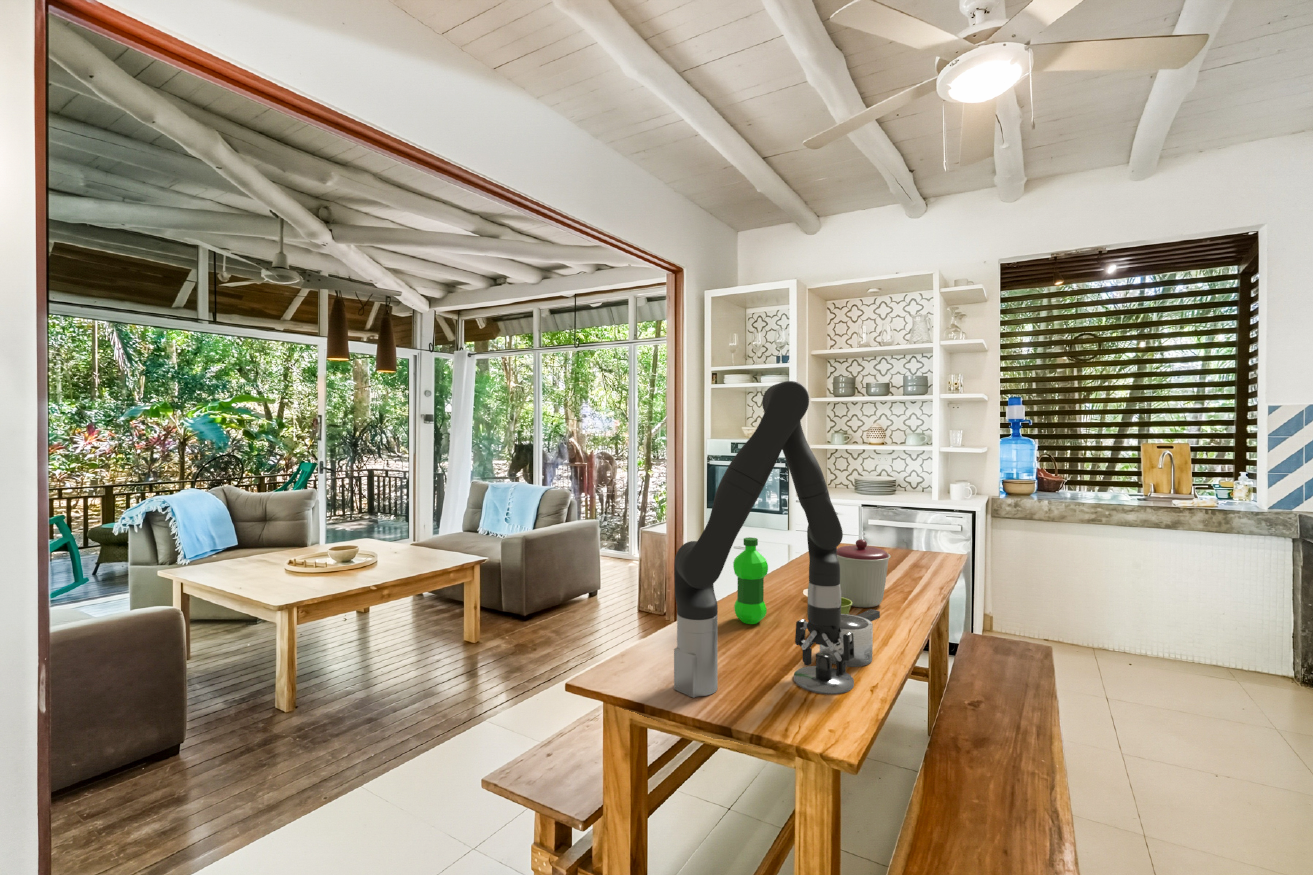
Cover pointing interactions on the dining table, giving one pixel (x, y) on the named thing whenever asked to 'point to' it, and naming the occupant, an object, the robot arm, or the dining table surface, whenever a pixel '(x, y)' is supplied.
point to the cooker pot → (857, 637)
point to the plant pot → (845, 605)
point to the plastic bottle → (750, 583)
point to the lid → (823, 677)
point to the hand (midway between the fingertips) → (823, 669)
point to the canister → (862, 573)
